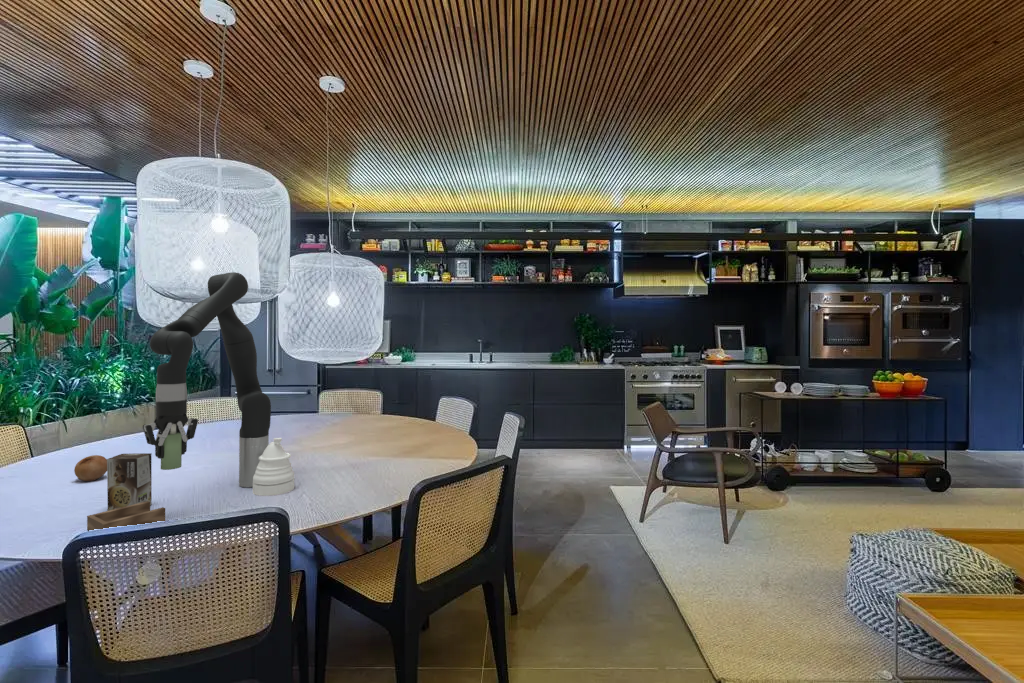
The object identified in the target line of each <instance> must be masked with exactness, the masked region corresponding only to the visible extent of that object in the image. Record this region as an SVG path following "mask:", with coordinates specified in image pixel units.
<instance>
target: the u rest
mask: <svg viewBox="0 0 1024 683" xmlns="http://www.w3.org/2000/svg"><path fill="white" fill-rule="evenodd" d="M86 517H87V518H86V519H87V520H86V523H87V524H86V526H87V528H86V531H87V530H94V529H103V528H109V527H117V526H127V525H137V524H145V523H152V522H157V521H165V522H166V507H164V506H163V507H159V508H155V509H151V505H150V502H149V501H146V502H142V503H138V504H134V505H130V506H126V507H121V508H117V509H113V510H109V511H108V510H107V511H106V510H105V511H102V512H98V513H94V514H90V515H87V516H86Z"/></svg>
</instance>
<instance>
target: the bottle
mask: <svg viewBox="0 0 1024 683" xmlns="http://www.w3.org/2000/svg"><path fill="white" fill-rule="evenodd" d="M162 446H164V458H162V459H160V470H163V471H170V470H175V469H180V468H182V460H183V458H182V457H183V456H182V435H181V433H179V432H178V433H176V424H172V426H171V431H170V434H168V435H167V437H166V438H165V440H164V443H163V445H162Z"/></svg>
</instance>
